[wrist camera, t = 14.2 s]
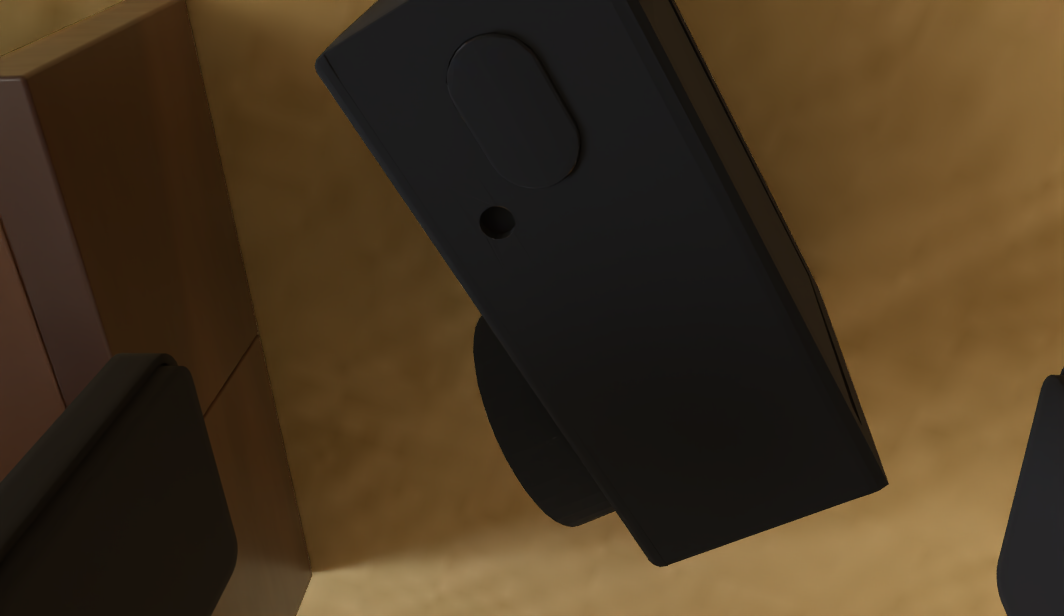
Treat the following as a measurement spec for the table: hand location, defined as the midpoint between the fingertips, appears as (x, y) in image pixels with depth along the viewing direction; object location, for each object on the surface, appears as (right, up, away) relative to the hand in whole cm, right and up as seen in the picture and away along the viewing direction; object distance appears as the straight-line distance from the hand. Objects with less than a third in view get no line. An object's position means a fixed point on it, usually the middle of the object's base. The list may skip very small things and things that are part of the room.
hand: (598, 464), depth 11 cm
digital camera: (+1, +5, +10) cm, 11 cm away
